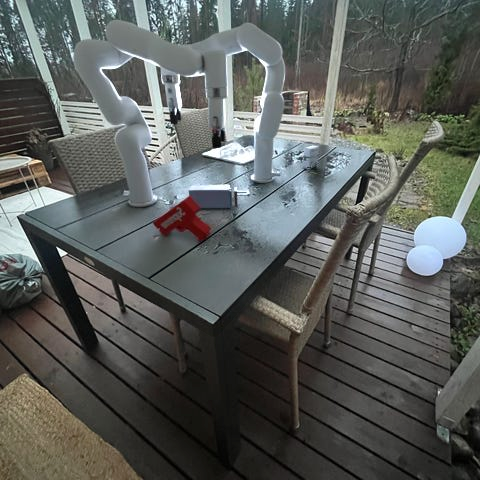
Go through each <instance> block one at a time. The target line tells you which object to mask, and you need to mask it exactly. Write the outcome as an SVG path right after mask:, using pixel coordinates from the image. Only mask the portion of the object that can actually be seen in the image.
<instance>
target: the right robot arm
mask: <svg viewBox="0 0 480 480" xmlns="http://www.w3.org/2000/svg"><path fill="white" fill-rule="evenodd" d="M178 45H179V46H181V47H184V48H189V49H195V50H201V51H206V50H224V51H225V52H226V54H227V57H228V56H232V55H235V54H239V53H242V52H245V51H247V52H249V54H252V55H253V56H254V57H255V58H257V59H258V60H259V62H261V64H262V65H263V66H264V68H265V79H264V85H263V90H262V94H261V98H260V107H261V114H260V115H259V116H258V117H257V118H256V120H255V122H254V124H253V125H254V126H253V132H254V133H253V136H254V145H253V148H254V160H253V174H252V175H251V176H250V180H251V181H252V182H255V183H260V184H267V183H271V182H274V180H275V177H281V174H282V173H281V172H278V171H273V159H274V158H273V155H274V138H276V136H277V135H278V132H279V130H280V127H281V122H282V118H283V114H284V110H285V98H284V96H283V88H284V84H285V80H286V79H285V78H286V65H285V61H284V57H283V48H282V46H281V43H279V41H277V40H276V39H275V38H273V37H272V36H270V35H269V34H267V32H265V31H263V30H262V29H260V28H259V27H258V26H256V25H255V24H253V23H251V22H244V23H242V24H241V25H240V26H236V27H233V28H230V29H226V30H224V31H220V32H216V33H213V34H212V35H210V36H209V37H207V38H204V39H202V40H200V41H197V42H194V43H190V44H186V43H185V44H184V43H183V44H178ZM159 68H160V75H161V82H162V85H164V91H165V97H166V99H165V100H166V106H167V109H168V114H169V115H168V116H169V122H170V125H178V123H179V121H182V113H181V108H182V106H183V104H182V103H183V102H182V98H181V91H180V84H181V80H180V75H179V74H176V73H174V72H171V71H168V70H166V69H163V68H161V67H159Z"/></svg>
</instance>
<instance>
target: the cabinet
mask: <svg viewBox="0 0 480 480" xmlns="http://www.w3.org/2000/svg"><path fill="white" fill-rule="evenodd" d="M230 188H231V186H230V184H190V185H189V188H188V196H191V198H192V199H193V200H194V201H195V202H196V203H197V204H198V205H199V207H200V211H209V210H210V211H212V210H213V211H215V210H216V211H217V210H218V211H219V210H225V211H226V210H229V211H230V210H231V206H230Z"/></svg>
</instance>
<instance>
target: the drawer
mask: <svg viewBox="0 0 480 480" xmlns="http://www.w3.org/2000/svg"><path fill="white" fill-rule="evenodd" d="M233 189H234V191H233V190H232V187H230V207H232V206H233V194H234V208H238V197H250V196H251V191H250V190H249V189H248V190H238V186H234V188H233ZM232 191H233V192H234V193H233V192H232ZM232 193H233V194H232Z"/></svg>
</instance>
